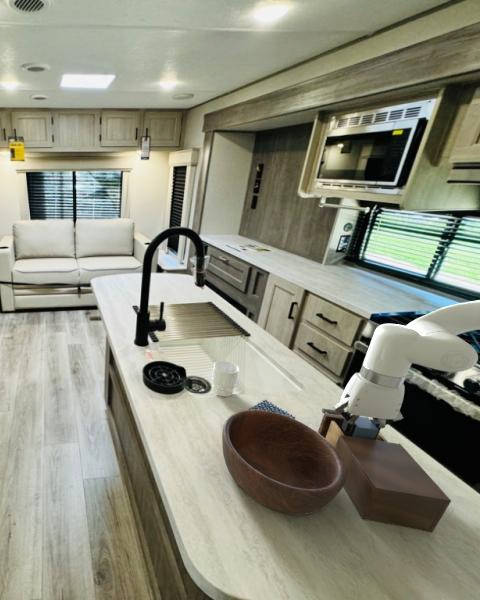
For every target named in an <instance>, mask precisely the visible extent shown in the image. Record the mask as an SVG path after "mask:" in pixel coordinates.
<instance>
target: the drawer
mask: <svg viewBox="0 0 480 600" xmlns="http://www.w3.org/2000/svg"><path fill="white" fill-rule="evenodd" d="M321 413H322V414H323V416H322V419H321V422H320V425H319V428H318V430H317V432H318V433H319V434H320V435H322V436H323V437H324V438H325V439H326V440H327V441H328V442H330V443H331V445H332V446H333V447H334V448H335V446H336V443H337V440H338V438H339V435H343V436H347V435H346V433H345V432H344V431H343V429H342V425H343V422H344V419H345V418H344V417H343V416H342V415H341V414H339V413H338V412H337V411H335V409H331V408H324V407H322V408H321ZM369 420H370V418H369ZM376 440H378V441H385V442H389V441H388V440H387V438H386V437H385V436H384V435H383V434H382V433H381V431H380V432H379V434H378V436H377V438H376Z"/></svg>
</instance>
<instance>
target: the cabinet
mask: <svg viewBox="0 0 480 600" xmlns="http://www.w3.org/2000/svg"><path fill="white" fill-rule="evenodd" d="M335 449H336V450H337V452H338V453H339V454H340V456H341V458H342V460H343V462H344V464H345V468H346V480H345V483H344V485H343V487H342V489H344V491H345V493H346V495H347V496H348V498H349V500H350V501H351V503H352V505H353V506H354V509H355V510H356V511H357V513H358V515H359V517H360V518H361V519H362V520H365V521H372V522H375V523H381V524H386V525H391V526H397V527H402V528H407V529H411V530H417V531H422V532H427V533H433V532H434V531H435V529H436V527H437V526H438V523H439V522H440V520H441V519H442V517H443V515H444V514H445V512H446V511H447V510H448V508H449V506H450V504H451V502H452V500H451V499H450V497H449V496H448V495H447V494H446V493H445V492H444V491H443V490H442V489H441V488H440V486H439V485H438V484H437V483H436V482H435V481H434V480H433V478H432V477H431V476H430V475H429V474H428V473H427V472H426V471H425V470H424V469H423V468H422V466H421V465H420V464H419V463H418V462H417V461H416V460H415V458H414V457H413V456H412V455H411V454H410V453H409V452H408V451H407V450H406V448H405V447H404V446H403V445H402V444H401V443H397V442H391V441H388V442H385V441H378V440H371V439H364V438H357V437H350V436H343V435H339V438H338V440H337V443H336V446H335Z"/></svg>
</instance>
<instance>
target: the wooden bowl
mask: <svg viewBox="0 0 480 600" xmlns="http://www.w3.org/2000/svg"><path fill="white" fill-rule="evenodd" d="M221 434H222V435H221V442H222V447H221V448H222V454H223V459H224V462H225V465H226V467H227V470H228V472H229V473H230V475H231V477H232V478H233V480H234V482H235V483H236V484H237V485H238V487H239V488H241V489H242V491H243V492H245V494H247V495H248V497H250V498H251V499H253V500H255V501H256V502H257V503H259V504H261V505H263V506H265V507H267V508H269V509H271V510H274V511H276V512H279V513H283V514H288V515H296V516H297V515H300V516H301V515H308V514H313V513H316V512H319V511H321V510H322V509H324V508H326V507H327V506H328V505H329V504H331V502H333V500H334V499H335V498H336V497H337V496H338V495H339V493H340V492H341V490H342V489H343V485H344V483H345V480H346V468H345V464H344V462H343V460H342V458H341V456H340V454H339V453H338V452H337V450H336V449H335V448H334V447H333V446H332V445H331V443H330V442H328V441H327V440H326V439H325V438H324V437H323V436H322V435H320V434H319V433H318V431H317V430H315V429H314V428H312V427H311V426H309V425H307V424H305V423H303V422H302V421H299V420H298V419H296V418H295V419H293V418H291V417H288V416H285V415H282V414H279V413H275V412H271V411H265V410H248V409H245V410H244V409H243V410H240V411H237V412H235V413H233V414H231V415H230V416H228V417H227V419H226V420H225V422H224V424H223V427H222V433H221Z"/></svg>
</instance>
